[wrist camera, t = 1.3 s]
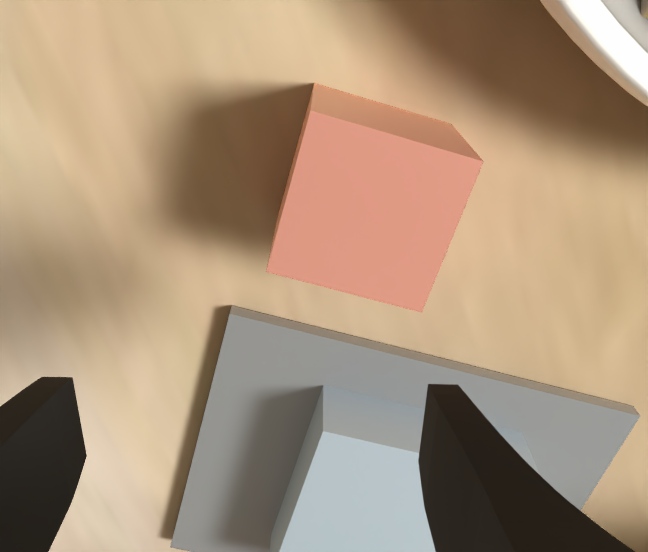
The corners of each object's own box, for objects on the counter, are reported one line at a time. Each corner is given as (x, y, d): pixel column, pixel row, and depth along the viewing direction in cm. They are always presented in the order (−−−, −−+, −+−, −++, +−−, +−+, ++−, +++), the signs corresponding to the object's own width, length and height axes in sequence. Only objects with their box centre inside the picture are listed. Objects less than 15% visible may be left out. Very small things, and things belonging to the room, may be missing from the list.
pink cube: (451, 123, 20) (483, 161, 16) (403, 249, 21) (421, 312, 17) (314, 82, 19) (310, 110, 15) (278, 215, 21) (266, 271, 17)
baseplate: (633, 406, 24) (640, 416, 24) (509, 604, 29) (513, 616, 29) (231, 305, 22) (229, 313, 22) (173, 536, 27) (170, 547, 27)
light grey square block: (521, 432, 24) (542, 481, 22) (447, 570, 27) (458, 626, 25) (323, 385, 23) (323, 431, 21) (271, 533, 26) (266, 588, 24)
